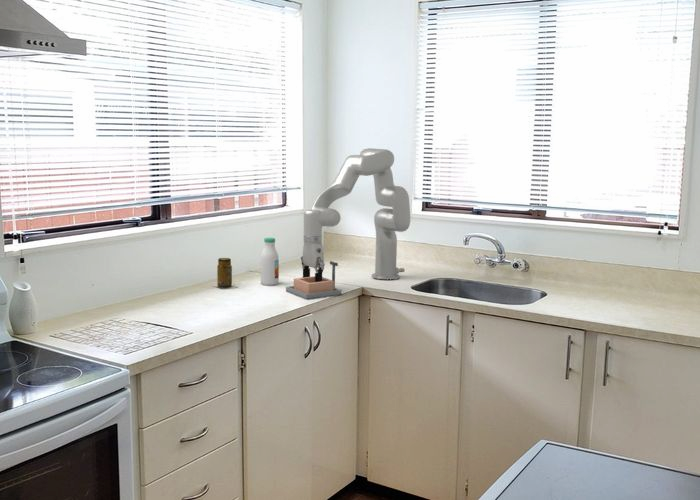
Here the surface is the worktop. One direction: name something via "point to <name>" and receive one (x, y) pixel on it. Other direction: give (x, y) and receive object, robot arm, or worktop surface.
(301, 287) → the ring
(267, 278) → the milk bottle
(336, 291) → the tray
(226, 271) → the condiment
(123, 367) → the worktop surface
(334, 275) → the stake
